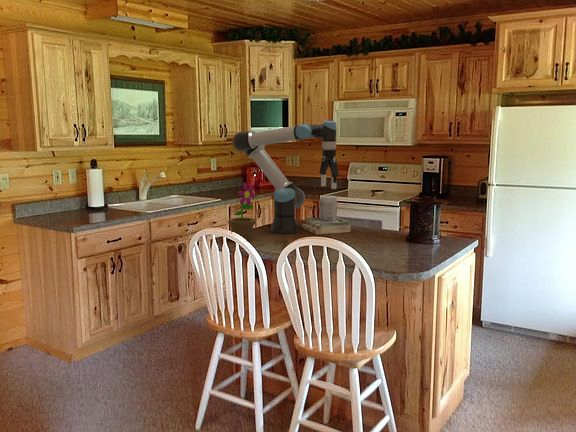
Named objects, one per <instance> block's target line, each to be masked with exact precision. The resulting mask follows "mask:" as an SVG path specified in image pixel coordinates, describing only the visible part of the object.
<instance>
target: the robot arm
mask: <svg viewBox="0 0 576 432" xmlns="http://www.w3.org/2000/svg"><path fill="white" fill-rule="evenodd" d="M306 139H322V143H321V145H322V151H321V152H322V157H321V162H320V167H319V171H318V172H319V173H320V175H321V176H320V186H321V187H326V186H327V170H328V168H329V170H330V173H331V184H330V185H331V190H335V189H336V190H337V182H338V181H337V180H338V179H337V178H338V177H339V176H340V173H339V167H338V162H337V158H334V157H336V156H337V150H336V149H337V122H336V121H334V120H324V121H323V122H322V124H311V123H310V124H307V123H305V124H300V125H293V126H288V127H281V128H275V129H268V130H262V131H253V130H247V131H244V130H243V131H242V130H241V131H238V132H236V133H235V134H234V136H233V137H232V143H231V144H232V146H233V147H234V149H235V150H236V151H238V152H240V153H245V154H246V156H247V157H248V158H249V159H252V160H253V161H254V162H255V164H256V165H257V166H258V168H259V169H260V170H261V171H262V173H263V174H264V175H265V177H266V178H267V179H268V181H269V182H270V184H272V186H273V187H274V189H275V190H274V192H273V220H272V223H271V227H270V232H271V233H275V234H281V235H282V234H284V235H287V234H295V233H298V232H299V226H298V222H297V220H296V209H299V208H301V207H302V205H304V203H305V199H306V198H305V197H306V196H305V193H304V191H303V190H302V189H301V188H299V187H297V186H296V185H295V184H294V182H293V181H289V180H288V179H287V177H286V176H285V174H284V173H283V172H282V171H281V170H280V168H279V167H278V165H277V164H276V162H275V161H274V160H273V159H272V157H271V156H270V155H269V154H268V153H267V151H266V150H265V147H266V146H267V145H273V144H279V143H286V142H293V141H299V140H306Z"/></svg>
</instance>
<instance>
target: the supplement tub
mask: <svg viewBox="0 0 576 432" xmlns="http://www.w3.org/2000/svg"><path fill="white" fill-rule="evenodd" d="M319 197H320V199H319V217H320V222H321V223H336V222H337V217H338V199H337V198H338V197H337V196H335V195H321V196H319Z"/></svg>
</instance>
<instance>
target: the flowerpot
mask: <svg viewBox="0 0 576 432" xmlns="http://www.w3.org/2000/svg"><path fill="white" fill-rule="evenodd" d="M242 187H243V190H238V191H237V194H238V196H241V199H240V200H239V205H240V211H239V210H238V211H235V213H234V215H235V216H240V217H232V218H229V219H228V220H227V224H228V225H229V226H230V232H231V233H232V232H235V233H238V234H239V235H240V236H242V237H243V238H245V239H246V240H247V241H248V242H249V241H252V240H253V234H254V233H253V231H254V225H256V223H257V222H256V219H257V218H253V217H244V210H246V211H247V210H250V209H252V208H253V207H254V206H253V205H252V204H251V203H252V202H251V199H255V198H256V197H257V195H256V194H255V193H252V192H253V190H254V188H255V187H254V184H251V185H249V187H248V184H247V183H246V182H243V184H242ZM250 198H251V199H250ZM245 202H246V203H245ZM247 241H246V242H247Z"/></svg>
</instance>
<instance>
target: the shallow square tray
mask: <svg viewBox="0 0 576 432" xmlns="http://www.w3.org/2000/svg"><path fill="white" fill-rule="evenodd" d="M351 225H352V222H351V221H349V220H346V219H344V218H340V217H338V216H337V222H336V223H321V222H320V216H318V217H307V218H306V224H305V223H303V224H301V228H302V229H304V230H306V231H308V232H310V233H312V234H314V233H315V235H323V234H324V235H326V234H338V233H339V234H340V233H341V234H342V233H350V232H351V231H352V230H351Z"/></svg>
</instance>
